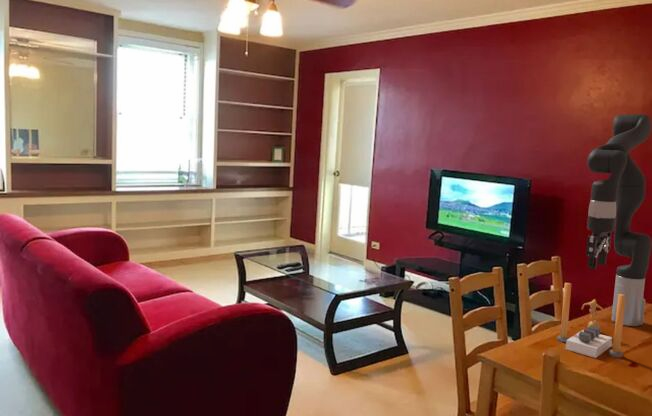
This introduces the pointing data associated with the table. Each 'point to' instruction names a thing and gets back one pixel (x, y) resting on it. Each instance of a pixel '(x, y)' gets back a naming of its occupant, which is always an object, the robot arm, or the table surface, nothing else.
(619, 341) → the post
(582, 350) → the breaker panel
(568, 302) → the post
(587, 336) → the paddle
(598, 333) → the paddle
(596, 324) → the figurine
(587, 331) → the paddle mid
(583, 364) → the table surface
